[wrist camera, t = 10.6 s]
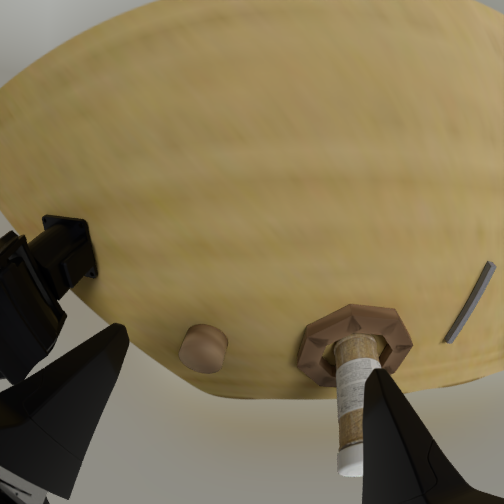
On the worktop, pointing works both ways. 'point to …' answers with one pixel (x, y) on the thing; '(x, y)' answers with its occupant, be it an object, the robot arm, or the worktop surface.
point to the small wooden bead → (203, 349)
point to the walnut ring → (344, 325)
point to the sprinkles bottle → (352, 397)
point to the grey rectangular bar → (471, 302)
